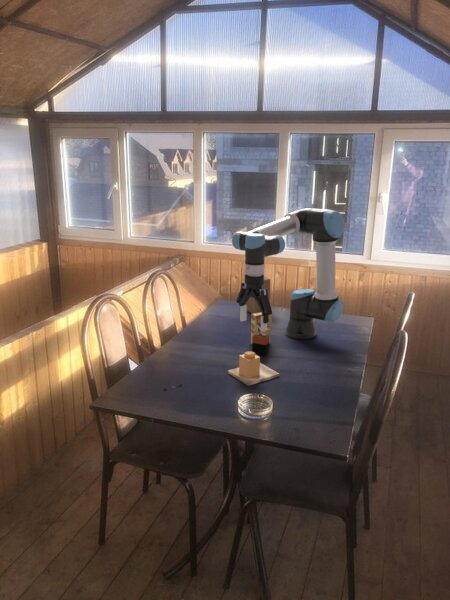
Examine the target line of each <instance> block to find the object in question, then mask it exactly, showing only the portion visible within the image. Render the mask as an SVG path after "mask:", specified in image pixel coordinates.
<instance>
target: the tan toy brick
mask: <svg viewBox="0 0 450 600" xmlns="http://www.w3.org/2000/svg"><path fill="white" fill-rule="evenodd" d="M238 358H239V359H238V360H239V361H238V362H239V363H238V368H239V374H241V375H242V376H244V377H246V378H247V379H249V378H252V377H255V376H259V375H260V363H261V357H260V355H255V353H254V352H252V350H250V351H245V352H244V353H243V354H239V357H238Z"/></svg>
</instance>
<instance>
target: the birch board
mask: <svg viewBox="0 0 450 600" xmlns="http://www.w3.org/2000/svg"><path fill="white" fill-rule="evenodd" d="M227 373H228V374H229V375H230V376H232V377H234V378H235V379H236V380H238V381H240V382H241V383H243V384H245V385H246V386H249V387H250V386H253V385H255V384H258V383H262V382H265V381H269V380H272V379H275V378H278V377H280V373H279V372H277V371H276V370H275V369H274V370H273V369H272V368H270V367H269V366H266V365H265V364H263V363H261V362H260V375H259V376H255V377H252V378H249V379H247V378H246V377H244V376H242V375H241V374H239V367H236V368H235V367H234V368H232V369H228V370H227Z"/></svg>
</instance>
